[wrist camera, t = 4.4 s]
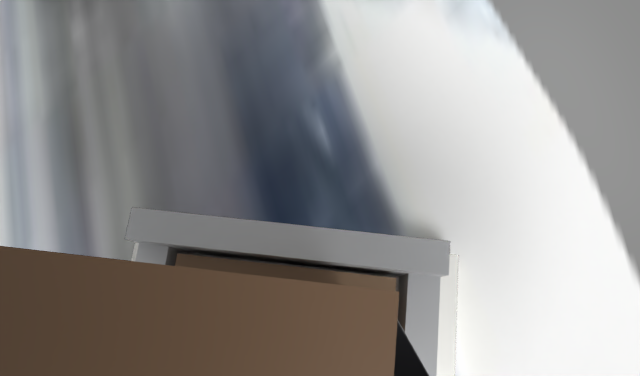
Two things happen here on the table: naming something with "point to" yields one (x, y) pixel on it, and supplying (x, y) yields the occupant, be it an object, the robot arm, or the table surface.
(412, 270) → the tray
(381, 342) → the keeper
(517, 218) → the table surface
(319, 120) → the table surface
